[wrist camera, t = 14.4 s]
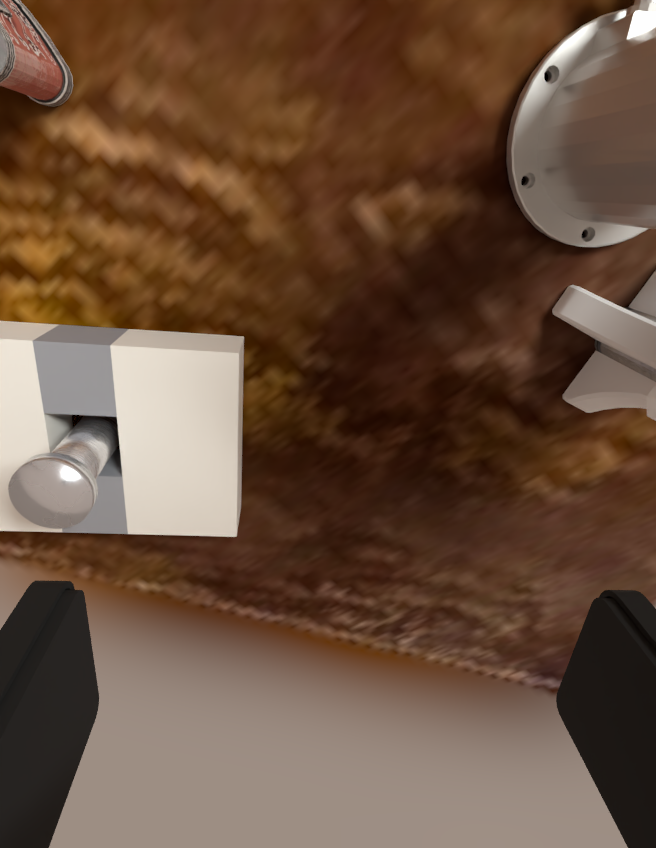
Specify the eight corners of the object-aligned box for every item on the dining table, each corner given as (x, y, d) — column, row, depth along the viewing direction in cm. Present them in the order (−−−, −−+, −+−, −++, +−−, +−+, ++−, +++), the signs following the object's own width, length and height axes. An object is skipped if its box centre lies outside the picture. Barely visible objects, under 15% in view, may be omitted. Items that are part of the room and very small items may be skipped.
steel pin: (73, 392, 36) (1, 459, 27) (137, 395, 37) (87, 462, 28) (80, 447, 38) (15, 527, 29) (141, 449, 39) (96, 529, 30)
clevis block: (-23, 497, 39) (-54, 529, 36) (-65, 316, 34) (-107, 332, 30) (241, 506, 41) (236, 536, 38) (243, 336, 36) (238, 353, 32)
